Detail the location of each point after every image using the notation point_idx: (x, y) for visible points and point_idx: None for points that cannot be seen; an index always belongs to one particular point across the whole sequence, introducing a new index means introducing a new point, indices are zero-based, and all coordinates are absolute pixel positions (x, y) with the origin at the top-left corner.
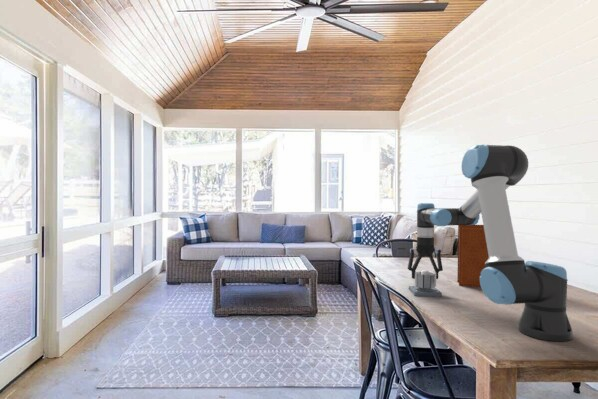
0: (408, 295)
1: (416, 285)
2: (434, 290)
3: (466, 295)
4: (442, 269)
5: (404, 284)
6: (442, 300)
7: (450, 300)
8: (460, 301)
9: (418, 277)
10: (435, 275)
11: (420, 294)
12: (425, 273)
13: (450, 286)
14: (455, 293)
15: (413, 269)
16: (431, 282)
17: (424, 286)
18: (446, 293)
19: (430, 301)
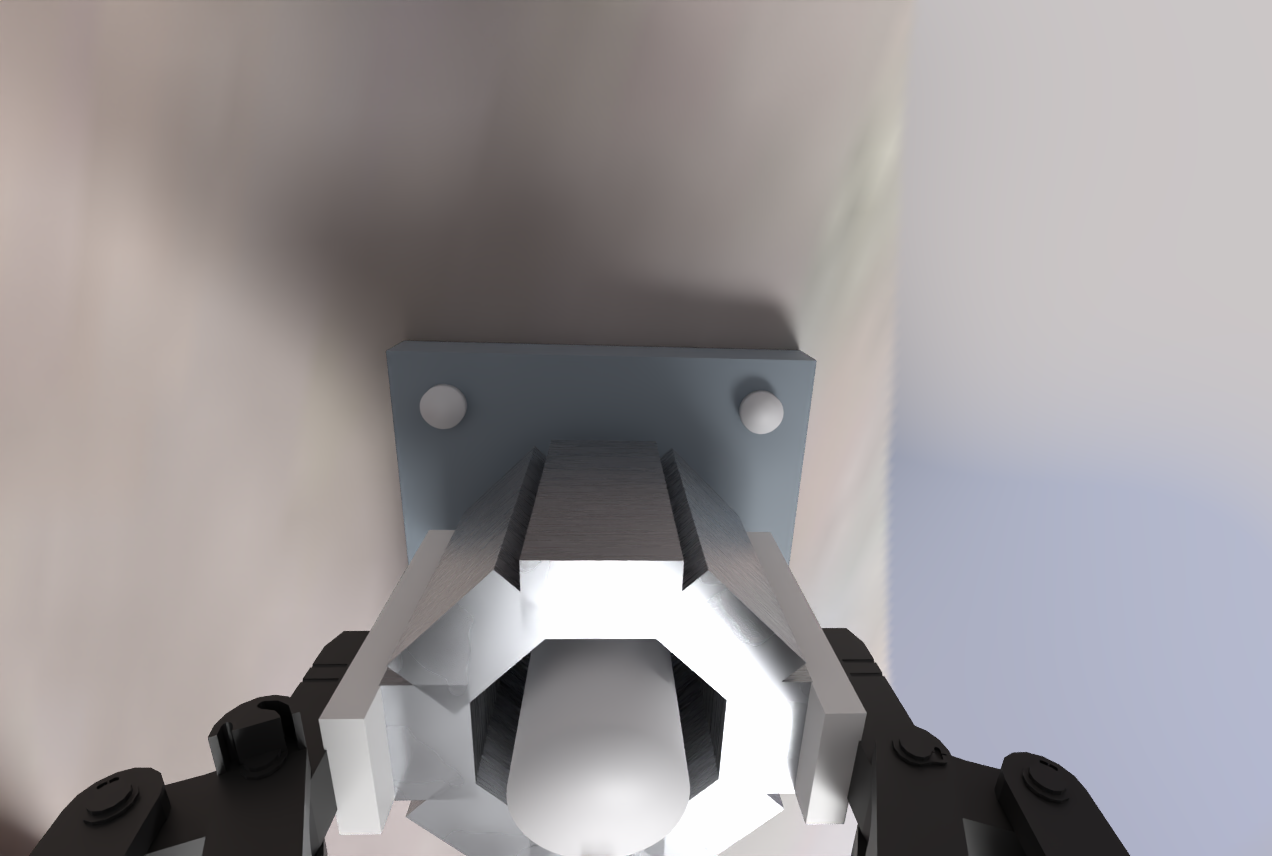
0: (878, 364)
1: (751, 538)
2: (470, 493)
3: (18, 417)
4: (69, 811)
5: (735, 847)
6: (447, 92)
7: (314, 98)
8: (153, 36)
9: (767, 598)
10: (368, 664)
11: (719, 353)
12: (609, 686)
13: None
14: (172, 512)
15: (946, 778)
16: (513, 494)
17: (649, 453)
18: (303, 504)
19: (663, 14)
